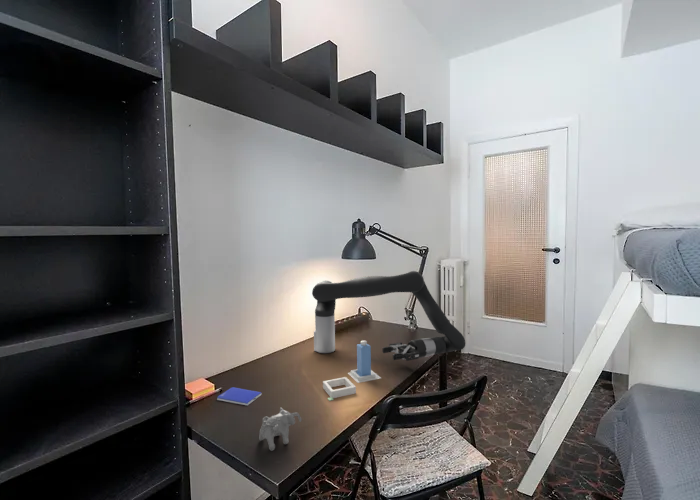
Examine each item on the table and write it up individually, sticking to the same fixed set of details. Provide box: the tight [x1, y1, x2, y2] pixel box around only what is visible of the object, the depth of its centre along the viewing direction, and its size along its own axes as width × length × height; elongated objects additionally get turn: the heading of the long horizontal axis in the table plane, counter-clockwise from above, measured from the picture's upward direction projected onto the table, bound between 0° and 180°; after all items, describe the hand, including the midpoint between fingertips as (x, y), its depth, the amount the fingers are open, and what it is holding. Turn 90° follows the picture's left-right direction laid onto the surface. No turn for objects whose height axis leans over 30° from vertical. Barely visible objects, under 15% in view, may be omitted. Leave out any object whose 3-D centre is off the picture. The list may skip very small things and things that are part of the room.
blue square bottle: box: [356, 339, 372, 377], centre depth 136 cm, size 4×4×14 cm
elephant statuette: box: [258, 407, 303, 452], centre depth 97 cm, size 9×12×8 cm
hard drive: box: [216, 386, 263, 406], centre depth 122 cm, size 2×8×12 cm
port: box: [322, 376, 357, 402], centre depth 124 cm, size 12×12×3 cm
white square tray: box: [347, 368, 382, 384], centre depth 137 cm, size 10×10×2 cm
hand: (387, 353), depth 140 cm, fingers open, 8 cm apart
